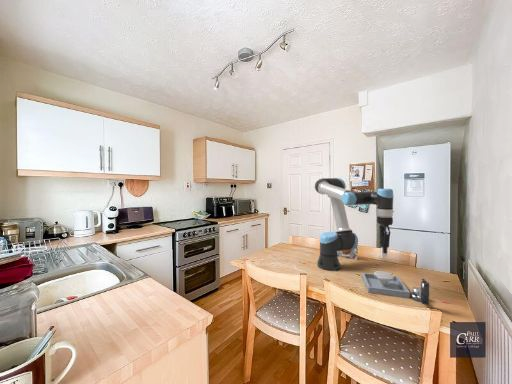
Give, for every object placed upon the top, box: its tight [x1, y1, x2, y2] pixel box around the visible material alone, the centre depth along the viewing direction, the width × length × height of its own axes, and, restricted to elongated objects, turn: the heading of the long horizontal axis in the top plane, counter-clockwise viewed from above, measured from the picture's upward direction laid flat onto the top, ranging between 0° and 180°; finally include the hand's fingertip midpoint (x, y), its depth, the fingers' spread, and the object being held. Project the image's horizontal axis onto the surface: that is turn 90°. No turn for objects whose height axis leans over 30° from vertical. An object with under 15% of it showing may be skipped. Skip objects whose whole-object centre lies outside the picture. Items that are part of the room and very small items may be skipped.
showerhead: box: [373, 270, 394, 286], centre depth 121 cm, size 9×7×10 cm
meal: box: [337, 246, 359, 261], centre depth 166 cm, size 15×4×13 cm, turn 53°
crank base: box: [409, 291, 421, 303], centre depth 108 cm, size 6×6×2 cm
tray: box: [361, 272, 411, 299], centre depth 120 cm, size 19×19×3 cm
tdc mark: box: [440, 300, 450, 304], centre depth 105 cm, size 3×1×1 cm, turn 73°
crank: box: [412, 278, 430, 306], centre depth 104 cm, size 12×4×11 cm, turn 163°
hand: (384, 258), depth 120 cm, fingers closed
